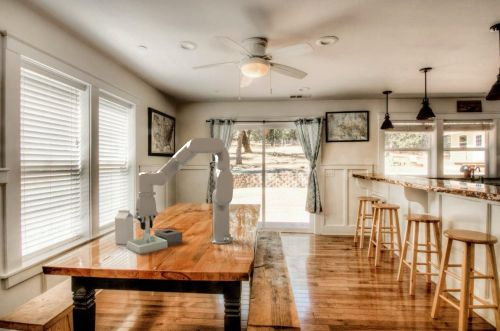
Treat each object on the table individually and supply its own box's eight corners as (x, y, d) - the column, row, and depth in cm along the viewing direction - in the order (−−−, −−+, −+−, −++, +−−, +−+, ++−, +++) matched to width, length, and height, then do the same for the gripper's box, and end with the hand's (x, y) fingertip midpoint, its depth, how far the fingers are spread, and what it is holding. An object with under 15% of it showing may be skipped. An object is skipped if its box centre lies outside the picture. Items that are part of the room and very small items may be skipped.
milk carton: (126, 244, 162) (125, 211, 161) (115, 244, 163) (114, 211, 163) (133, 241, 169) (133, 209, 168) (123, 240, 170) (122, 209, 170)
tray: (167, 247, 155) (167, 240, 155) (139, 254, 144) (139, 247, 144) (153, 242, 166) (153, 235, 166) (126, 248, 155) (126, 241, 155)
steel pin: (151, 242, 155) (151, 213, 155) (145, 243, 152) (144, 214, 152) (148, 241, 158) (148, 212, 157) (142, 242, 155) (141, 213, 155)
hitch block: (182, 242, 165) (182, 232, 165) (166, 246, 158) (166, 235, 158) (169, 238, 175) (169, 228, 175) (154, 241, 168) (154, 231, 168)
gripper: (157, 193, 163) (157, 225, 163) (128, 196, 151) (128, 230, 151) (163, 194, 158) (164, 227, 158) (134, 197, 146) (134, 232, 146)
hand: (146, 228), depth 155 cm, fingers closed on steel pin, 3 cm apart
